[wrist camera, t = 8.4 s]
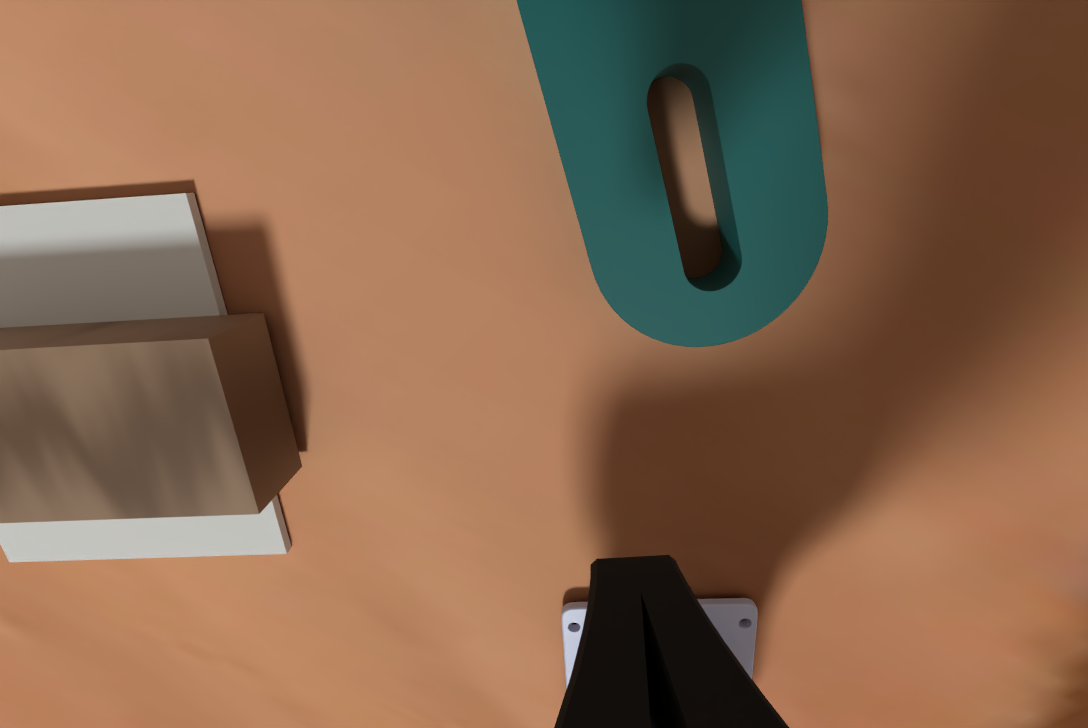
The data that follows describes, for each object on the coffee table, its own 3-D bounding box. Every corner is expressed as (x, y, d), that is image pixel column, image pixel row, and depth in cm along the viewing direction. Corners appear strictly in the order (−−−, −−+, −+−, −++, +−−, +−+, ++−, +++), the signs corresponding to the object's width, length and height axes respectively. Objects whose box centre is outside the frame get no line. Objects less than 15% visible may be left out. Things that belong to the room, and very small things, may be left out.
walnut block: (259, 514, 17) (-28, 524, 18) (302, 466, 20) (53, 476, 21) (207, 338, 15) (-114, 355, 16) (263, 312, 18) (-12, 328, 19)
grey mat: (291, 547, 22) (286, 553, 22) (18, 555, 23) (9, 562, 22) (193, 192, 17) (185, 193, 17) (-148, 216, 18) (-163, 217, 17)
